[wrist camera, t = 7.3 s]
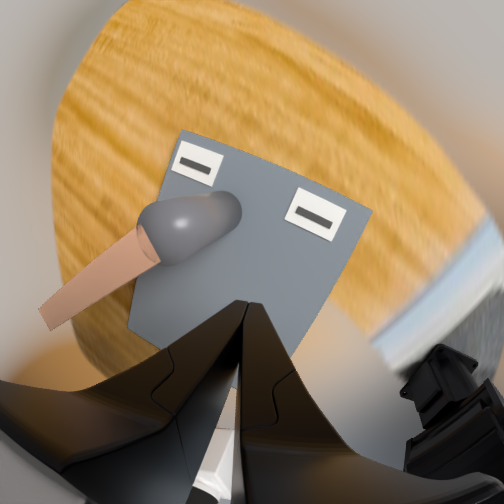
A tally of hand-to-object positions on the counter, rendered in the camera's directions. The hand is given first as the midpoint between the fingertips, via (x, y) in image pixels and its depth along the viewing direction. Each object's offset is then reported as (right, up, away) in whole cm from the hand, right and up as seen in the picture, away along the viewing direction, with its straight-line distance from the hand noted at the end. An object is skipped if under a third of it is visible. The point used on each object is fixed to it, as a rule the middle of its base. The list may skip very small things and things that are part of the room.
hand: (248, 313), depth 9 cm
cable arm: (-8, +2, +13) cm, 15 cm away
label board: (-2, 0, +14) cm, 14 cm away
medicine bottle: (-4, -22, +21) cm, 31 cm away
